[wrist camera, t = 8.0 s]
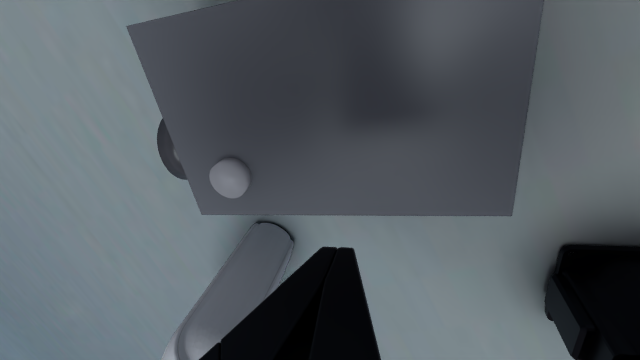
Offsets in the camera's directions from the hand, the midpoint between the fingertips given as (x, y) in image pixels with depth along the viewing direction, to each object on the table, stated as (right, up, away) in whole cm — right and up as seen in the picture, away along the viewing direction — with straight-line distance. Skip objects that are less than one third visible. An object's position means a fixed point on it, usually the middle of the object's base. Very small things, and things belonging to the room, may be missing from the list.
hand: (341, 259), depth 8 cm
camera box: (+1, +7, +10) cm, 12 cm away
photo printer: (-6, -5, +19) cm, 20 cm away
